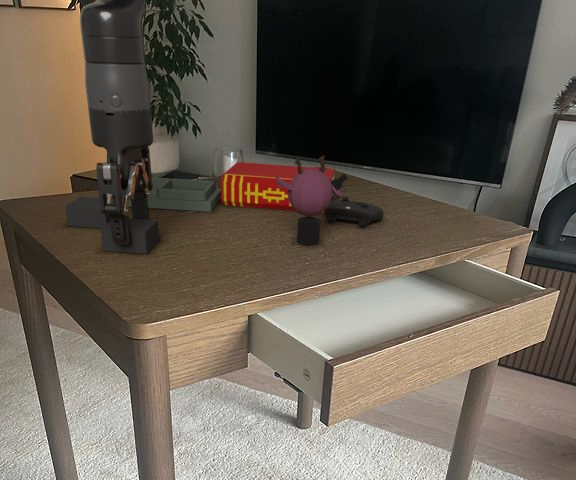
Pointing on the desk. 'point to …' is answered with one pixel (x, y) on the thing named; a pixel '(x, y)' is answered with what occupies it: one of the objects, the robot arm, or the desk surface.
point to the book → (260, 185)
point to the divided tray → (183, 194)
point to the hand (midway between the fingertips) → (132, 234)
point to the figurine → (311, 198)
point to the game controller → (353, 211)
